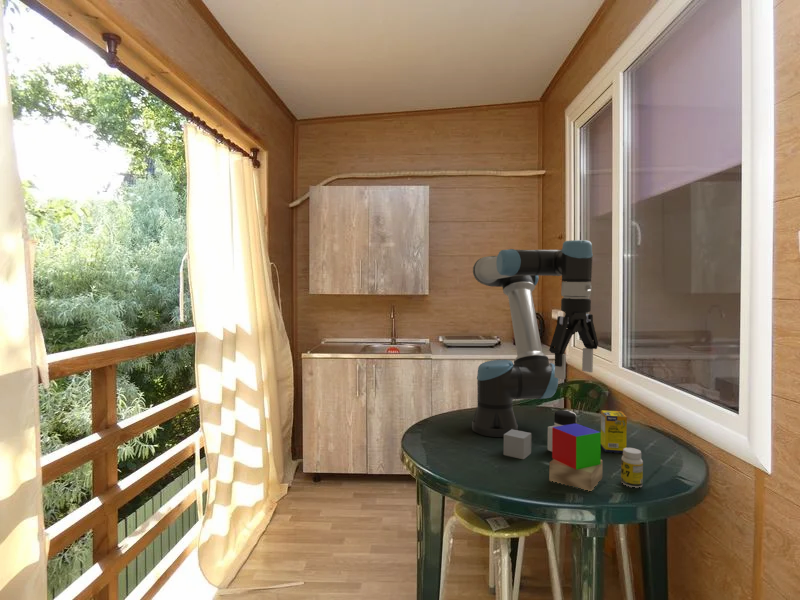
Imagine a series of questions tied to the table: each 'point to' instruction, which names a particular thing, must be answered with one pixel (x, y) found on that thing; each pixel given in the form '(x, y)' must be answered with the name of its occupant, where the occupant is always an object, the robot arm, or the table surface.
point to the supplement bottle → (632, 468)
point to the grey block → (517, 444)
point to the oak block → (575, 475)
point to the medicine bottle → (560, 423)
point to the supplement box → (613, 431)
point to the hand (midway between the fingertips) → (574, 374)
